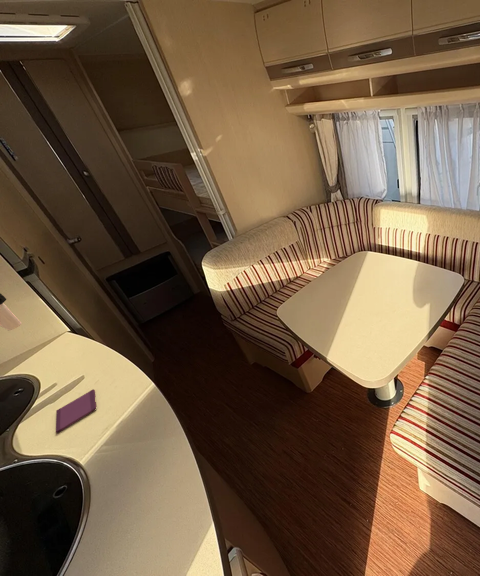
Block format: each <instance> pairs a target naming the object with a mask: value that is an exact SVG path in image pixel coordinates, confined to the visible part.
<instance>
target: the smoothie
mask: <svg viewBox="0 0 480 576" xmlns="http://www.w3.org/2000/svg"><path fill="white" fill-rule="evenodd" d="M22 324H23V323H22V321H21V320H20V319H19V318H18V317H17V316H16V315H15V314H14V313H13V311H12V310H11V309H10V308H9V307H8V305H6V304H5V302H4V303H2V304H1V305H0V327H2V328H3V329H4V330H7V331H14V330H15V329H17V328H19V327H20V326H22Z"/></svg>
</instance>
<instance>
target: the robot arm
mask: <svg viewBox="0 0 480 576" xmlns="http://www.w3.org/2000/svg"><path fill="white" fill-rule="evenodd" d="M6 301H7V298H6V297H5V296H4V295H3V294H2V293H1V292H0V305H1V304H2V303H4V304H5V302H6Z"/></svg>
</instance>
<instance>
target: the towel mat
mask: <svg viewBox="0 0 480 576" xmlns="http://www.w3.org/2000/svg"><path fill="white" fill-rule="evenodd" d="M95 397H96V390H95V389H94V388H92V389H91V390H89V391H88V392H86V393H84V394H82V395H81V396H79V397H78V398H75V399H74V400H72V401H70V402H69V403H67V404H65V405H63V406H61V407H60V408H58V409H57V410H55V411H56V412H55V433H56V434H59V433H60V432H63V431H64V430H66V429H67V428H69V427H71V426H72V425H74V424H75V423H77V422H78V421H80V420H81V418H82V419H84V418H85V417H87V416H88V415H90V414H92V413H93V412H95V411H96V410H95V409H96V407H97V401H96V402H95ZM94 410H95V411H94ZM92 411H93V412H92ZM91 412H92V413H91ZM89 413H90V414H89ZM86 415H87V416H86ZM84 416H85V417H84Z"/></svg>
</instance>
